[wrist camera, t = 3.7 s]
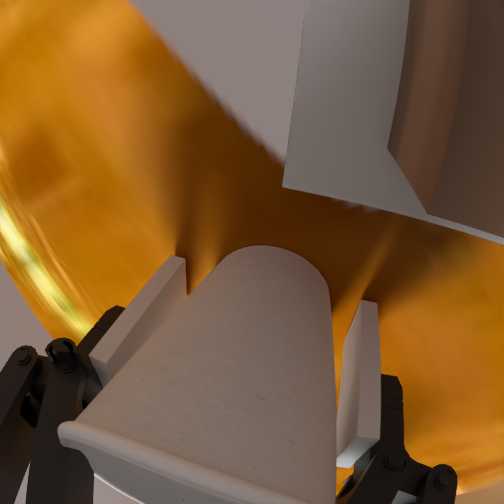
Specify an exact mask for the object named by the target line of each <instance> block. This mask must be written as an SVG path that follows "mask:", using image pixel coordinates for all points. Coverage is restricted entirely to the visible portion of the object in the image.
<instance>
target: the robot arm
mask: <svg viewBox="0 0 504 504" xmlns="http://www.w3.org/2000/svg"><path fill="white" fill-rule="evenodd" d="M186 298H187V291H186V259H185V258H181V257H177V256H173V255H171V256H170V257H169V258H168V259H167V260H166V261H165V262H164V264H163V265H162V266H161V267H160V268H159V269H158V271H157V272H156V273H155V274H154V275H153V276H152V278H151V279H150V280H149V281H148V282H147V284H146V285H145V286H144V287H143V288H142V289H141V291H140V292H139V293H138V294H137V295H136V297H135V298H134V299H133V300H132V301H131V303H130V304H129V305H128V306H127V308H123V307H120V306H118V305H116V306H114V307H113V308H111V309H109V310H107V311H106V312H105V313H104V314H103V316H102V317H101V318H100V319H99V321H98V322H97V323H96V324H95V325H94V327H93V328H92V329H91V330H90V331H89V332H88V333H87V335H86V336H85V337H84V338H83V339H82V341H81V342H80V343H79V344H78V346H77V347H76V345H75V343H74V342H73V341H72V340H71V339H68V338H58V339H55V340H53V341H51V342H50V343H49V344H48V345H47V347H46V349H45V351H46V353H47V355H48V357H45V356H40V355H38V354H37V352H36V350H35V348H33V347H32V346H27V345H25V346H21V347H19V348H17V349H16V350H15V351H14V352H13V353H12V355H11V356H10V358H9V360H8V361H7V363H6V364H5V366H4V367H3V369H2V371H1V372H0V504H14V502H15V499H16V496H17V494H18V491H19V488H20V486H21V483H22V480H23V478H24V475H25V472H26V470H27V468H28V465H29V463H30V468H29V476H28V484H27V493H26V504H93V489H94V471H93V469H92V467H91V465H90V463H89V461H88V459H87V458H86V456H85V455H84V454H83V453H82V452H81V451H80V450H78V449H73V448H70V447H64V446H62V445H61V443H60V439H59V437H58V432H57V431H58V427H59V425H60V424H62V423H63V422H67V421H75V420H76V419H77V417H78V416H79V415H80V414H81V413H82V412H83V411H84V410H85V408H86V407H87V406H88V405H89V404H90V403H91V402H92V401H93V400H94V398H95V397H96V396H97V395H98V394H99V393H100V392H101V391H102V390H103V388H104V387H105V386H106V385H107V384H108V383H109V382H110V381H111V380H112V378H113V377H114V376H115V375H116V374H117V373H118V372H119V371H120V370H121V369H122V367H123V366H124V365H125V364H126V363H127V362H128V361H129V360H130V359H131V358H132V356H133V355H134V354H135V353H136V352H137V351H138V350H139V349H140V348H141V347H142V345H143V344H144V343H145V342H146V341H147V340H148V339H149V338H150V337H151V336H152V335H153V334H154V332H155V331H156V330H157V329H158V328H159V327H160V326H161V325H162V324H163V323H164V322H165V321H166V319H167V318H168V317H169V316H170V315H171V314H172V313H173V312H174V311H175V310H176V309H177V308H178V306H179V305H180V304H181V303H182V302H183V301H184V300H185V299H186ZM402 400H403V391H402V386H401V384H400V382H399V380H398V377H397V376H391V375H384V374H381V364H380V338H379V321H378V307H377V303H375V302H370V301H365V300H361V301H360V304H359V306H358V309H357V311H356V314H355V316H354V319H353V321H352V324H351V326H350V329H349V331H348V333H347V336H346V338H345V340H344V348H343V361H342V373H341V384H340V393H339V403H338V411H337V419H336V431H337V462H336V467H343V468H350V467H351V466H352V465H353V464H354V463H355V464H354V472H353V474H352V475H351V476H349V477H348V478H347V479H346V480H345V481H344V482H343V483H344V484H345V485H344V486H343V488H342V489H341V491H340V492H339V494H338V495H337V496H336V502H335V504H454V502H455V496H456V489H457V475H456V472H455V470H454V469H453V468H452V467H451V466H449V465H446V464H439V465H437V466H435V467H433V468H431V467H428V466H426V465H423V464H421V463H418V462H416V461H414V460H413V459H412V458H410V456H409V454H408V453H407V451H406V450H405V447H404V416H403V401H402ZM30 460H31V461H30Z"/></svg>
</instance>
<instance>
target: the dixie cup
mask: <svg viewBox="0 0 504 504" xmlns="http://www.w3.org/2000/svg"><path fill="white" fill-rule="evenodd" d="M57 432H58V437H59V439H60V443H61V445H62V446H64V447H70V448H73V449H78V450H80V451H81V452H82V453H83V454H84V455H85V456H86V458H87V459H88V461H89V463H90V465H91V467H92V469H93V471H94V475H95V476H96V477H98V478H99V479H100V480H102V481H103V482H105V483H106V484H108V485H109V486H111V487H113V488H114V489H116V490H118V491H119V492H121V493H123V494H124V495H126V496H128V497H130V498H132V499H133V500H135V501H137V502H139V503H141V504H335V502H336V462H337V431H336V388H335V365H334V346H333V331H332V318H331V304H330V294H329V288H328V285H327V283H326V281H325V279H324V278H323V276H322V275H321V273H320V272H319V271H318V270H317V269H316V268H315V267H314V266H313V265H312V264H311V263H310V262H309V261H307V260H306V259H305V258H303V257H301V256H300V255H298V254H296V253H294V252H291V251H289V250H286V249H283V248H279V247H274V246H265V245H257V246H249V247H245V248H241V249H238V250H236V251H234V252H232V253H230V254H229V255H227V256H226V257H225V258H224V259H223V260H222V261H221V262H220V263H219V264H218V265H217V266H216V267H215V268H214V269H213V270H212V271H211V272H210V273H209V274H208V275H207V276H206V278H205V279H204V280H203V281H202V282H201V283H200V284H199V285H198V286H197V287H196V288H195V289H194V290H193V291H192V293H191V294H190V295H189V296H188V297H187V298H186V299H185V300H184V301H183V302H182V303H181V304H180V305H179V306H178V308H177V309H176V310H175V311H174V312H173V313H172V314H171V315H170V316H169V317H168V318H167V319H166V321H165V322H164V323H163V324H162V325H161V326H160V327H159V328H158V329H157V330H156V331H155V332H154V334H153V335H152V336H151V337H150V338H149V339H148V340H147V341H146V342H145V343H144V344H143V345H142V347H141V348H140V349H139V350H138V351H137V352H136V353H135V354H134V355H133V356H132V358H131V359H130V360H129V361H128V362H127V363H126V364H125V365H124V366H123V367H122V369H121V370H120V371H119V372H118V373H117V374H116V375H115V376H114V377H113V378H112V380H111V381H110V382H109V383H108V384H107V385H106V386H105V387H104V388H103V390H102V391H101V392H100V393H99V394H98V395H97V396H96V397H95V398H94V400H93V401H92V402H91V403H90V404H89V405H88V406H87V407H86V408H85V410H84V411H83V412H82V413H81V414H80V415H79V416H78V417H77V419H76V420H75V421H67V422H63V423H62V424H60V425H59V427H58V431H57Z"/></svg>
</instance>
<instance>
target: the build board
mask: <svg viewBox="0 0 504 504" xmlns="http://www.w3.org/2000/svg"><path fill="white" fill-rule="evenodd" d="M409 2H410V0H306V6H305V15H304V23H303V32H302V41H301V48H300V57H299V65H298V73H297V80H296V89H295V96H294V104H293V111H292V118H291V126H290V133H289V141H288V148H287V155H286V162H285V169H284V176H283V183H282V187H284V188H289V189H294V190H299V191H303V192H308V193H313V194H318V195H322V196H327V197H331V198H336V199H340V200H345V201H349V202H353V203H357V204H362V205H366V206H370V207H374V208H378V209H382V210H386V211H390V212H394V213H398V214H401V215H405V216H409V217H413V218H416V219H420V220H424V221H427V222H431V223H434V224H438V225H441V226H445V227H448V228H451V229H455V230H458V231H461V232H465V233H468V234H471V235H474V236H478V237H481V238H484V239H487V240H490V241H493V242H496V243H499V244H502V245H504V238H502V237H499V236H496V235H493V234H490V233H487V232H484V231H481V230H478V229H475V228H472V227H469V226H465V225H462V224H459V223H456V222H452V221H449V220H446V219H442V218H439V217H436V216H432V215H429V214H427V213H426V211H425V209H424V208H423V206H422V204H421V202H420V201H419V199H418V197H417V195H416V194H415V192H414V190H413V189H412V187H411V185H410V184H409V182H408V180H407V179H406V177H405V175H404V174H403V172H402V171H401V169H400V167H399V166H398V164H397V163H396V161H395V160H394V158H393V157H392V155H391V154H390V152H389V151H388V149H387V145H388V141H389V136H390V131H391V127H392V122H393V117H394V111H395V106H396V101H397V95H398V89H399V83H400V77H401V71H402V64H403V57H404V49H405V41H406V33H407V24H408V13H409Z"/></svg>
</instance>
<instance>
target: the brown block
mask: <svg viewBox="0 0 504 504" xmlns="http://www.w3.org/2000/svg"><path fill="white" fill-rule="evenodd" d="M387 149H388V151H389V152H390V154H391V155H392V157H393V158H394V160H395V161H396V163H397V164H398V166H399V167H400V169H401V171H402V172H403V174H404V175H405V177H406V179H407V180H408V182H409V184H410V185H411V187H412V189H413V190H414V192H415V194H416V195H417V197H418V199H419V201H420V202H421V204H422V206H423V208H424V209H425V211H426V213H427V214H429V215H432V216H436V217H439V218H442V219H446V220H449V221H452V222H456V223H459V224H462V225H465V226H469V227H472V228H475V229H478V230H481V231H484V232H487V233H490V234H493V235H496V236H499V237H502V238H504V0H410V2H409V13H408V24H407V33H406V41H405V49H404V57H403V64H402V71H401V77H400V83H399V89H398V95H397V101H396V106H395V111H394V117H393V122H392V127H391V131H390V136H389V141H388V145H387Z"/></svg>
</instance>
